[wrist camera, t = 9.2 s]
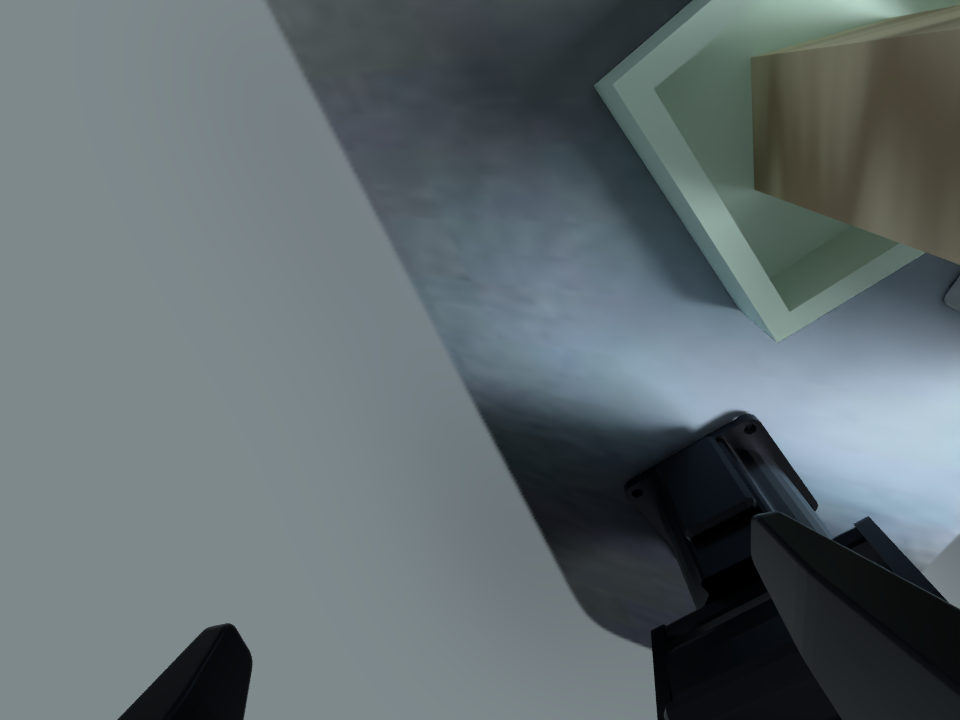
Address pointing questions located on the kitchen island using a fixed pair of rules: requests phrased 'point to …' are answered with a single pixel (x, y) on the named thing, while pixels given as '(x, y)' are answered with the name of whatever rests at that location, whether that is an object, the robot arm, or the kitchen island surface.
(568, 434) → the kitchen island surface
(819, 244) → the tray
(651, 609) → the kitchen island surface
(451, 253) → the kitchen island surface
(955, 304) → the coffee box
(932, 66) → the oak block
